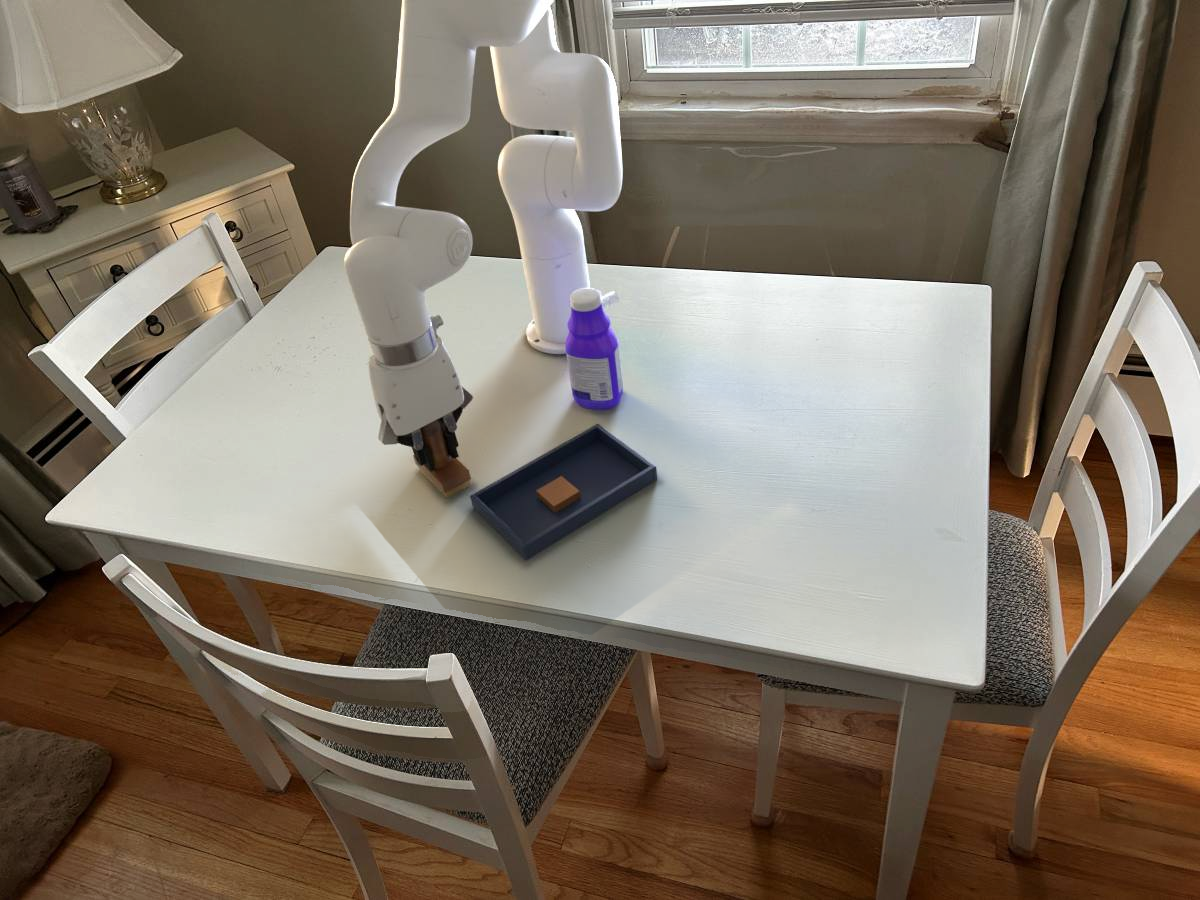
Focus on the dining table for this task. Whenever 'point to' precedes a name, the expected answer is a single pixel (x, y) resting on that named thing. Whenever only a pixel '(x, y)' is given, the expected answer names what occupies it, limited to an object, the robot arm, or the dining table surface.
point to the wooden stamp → (443, 462)
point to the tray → (584, 462)
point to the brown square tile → (558, 494)
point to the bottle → (592, 353)
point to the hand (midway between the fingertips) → (439, 458)
